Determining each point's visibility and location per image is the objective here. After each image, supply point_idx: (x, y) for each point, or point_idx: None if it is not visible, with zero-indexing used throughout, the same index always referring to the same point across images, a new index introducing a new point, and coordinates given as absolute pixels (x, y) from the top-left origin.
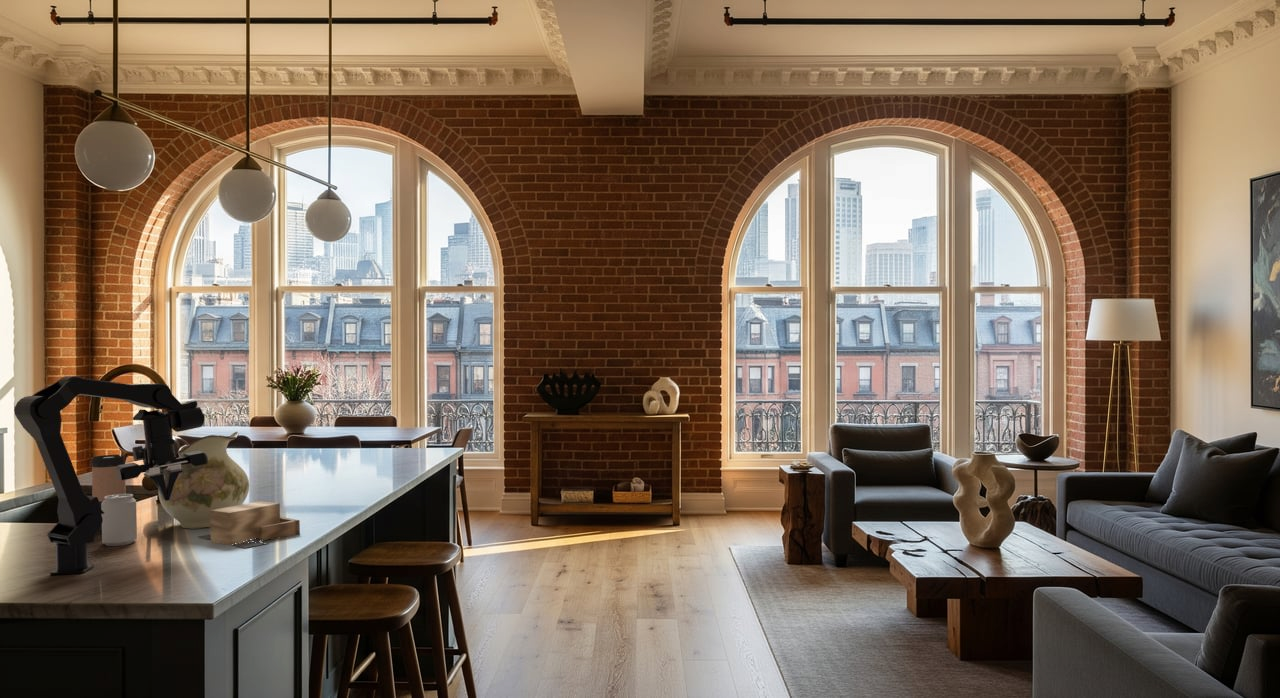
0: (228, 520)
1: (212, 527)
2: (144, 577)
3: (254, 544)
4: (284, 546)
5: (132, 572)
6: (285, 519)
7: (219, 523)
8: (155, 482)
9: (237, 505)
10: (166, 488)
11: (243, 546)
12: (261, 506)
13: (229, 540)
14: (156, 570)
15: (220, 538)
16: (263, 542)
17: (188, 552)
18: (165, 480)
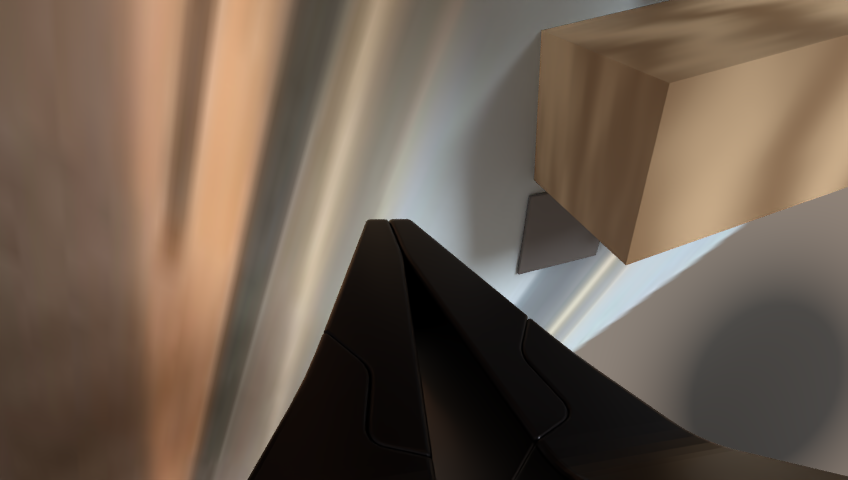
0: (600, 229)
1: (587, 71)
2: (135, 456)
3: (564, 248)
4: (583, 310)
5: (92, 393)
6: None
7: (597, 148)
8: (286, 463)
9: (839, 46)
10: (425, 361)
11: (528, 255)
12: (794, 199)
13: (544, 182)
14: (184, 400)
15: (549, 123)
16: (595, 239)
17: (366, 199)
18: (496, 437)
